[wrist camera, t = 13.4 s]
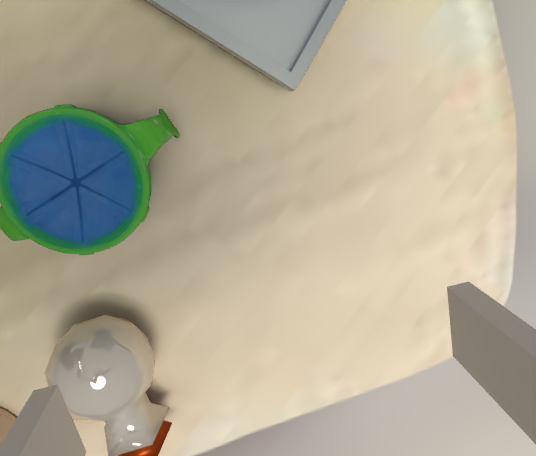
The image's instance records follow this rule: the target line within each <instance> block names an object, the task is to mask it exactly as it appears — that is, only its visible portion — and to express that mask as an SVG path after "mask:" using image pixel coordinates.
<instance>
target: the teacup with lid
mask: <svg viewBox="0 0 536 456" xmlns="http://www.w3.org/2000/svg"><path fill="white" fill-rule="evenodd" d="M15 420H16V418H15V417H14V416H13V415H12V414H11V413H9V412H7V411H6V410H4V409H1V408H0V445H1V443H2V442H3V440H4V438H5V437H6V435H7V434H8V432H9V430H10V429H11V427H12V425H13V424H14V422H15Z"/></svg>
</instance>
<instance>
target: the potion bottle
mask: <svg viewBox="0 0 536 456" xmlns="http://www.w3.org/2000/svg"><path fill="white" fill-rule="evenodd" d="M154 366H155V360H154V356H153V352H152V349H151V346H150V343H149V341H148V338H147V336H146V335H145V334H144V333H143V332H142V331H140V330H139V329H138V328H137V327H136V326H135V325H133V324H132V323H131V322H129V321H128V320H127V319H123V318H118V317H113V316H108V315H103V316H99V317H96V318H93V319H89V320H86V321H83V322H79V323H76V324H74V325H73V326H72V327H71V328H70V329H69V331H68V332H67V333H66V334H65V335H64V336H63V338H62V339H61V340H60V341H59V342H58V343H57V344H56V346H55V347H54V350H53V353H52V355H51V358H50V360H49V363H48V365H47V368H46V370H45V376H46V380H47V384H48V387H50V386H54V385H58V386H59V389H60V391H61V393H62V396H63V398H64V400H65V403H66V405H67V407H68V410H69V412H70V414H71V417H72V418H73V419H75V420H76V421H105V423H106V425H105V427H104V428H105V435H106V442H107V450H108V456H117V455H118V456H158V454H159V452H160V450H161V447H162V445H163V443H164V440H165V438H166V436H167V434H168V431H169V429H170V427H171V424H172V423H171V422H168V421H165V420H164V418H165V416H166V414H167V411H168V409H169V408H168V407H165V406H162V405H158V404H155V403H151V402H150V401H149V399H148V397H147V395H146V393H145V392H146V390H147V389H148V388H149V387H150V386H151V384H152V378H153V372H154Z"/></svg>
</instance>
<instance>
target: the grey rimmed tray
mask: <svg viewBox="0 0 536 456" xmlns="http://www.w3.org/2000/svg"><path fill="white" fill-rule="evenodd" d="M146 1H147V2H149V3H151V4H152V5H154V6H155V7H157V8H159V9H160V10H162V11H163V12H165V13H167V14H168V15H170V16H171V17H173V18H175V19H176V20H178V21H179V22H181V23H183V24H184V25H186V26H187V27H189V28H191V29H192V30H194V31H195V32H197V33H199V34H200V35H202V36H203V37H205V38H206V39H208V40H210V41H211V42H213V43H214V44H216V45H218V46H219V47H221V48H222V49H224V50H226V51H227V52H229V53H230V54H232V55H234V56H235V57H237V58H238V59H240V60H242V61H243V62H245V63H246V64H248V65H250V66H251V67H253V68H254V69H256V70H258V71H259V72H261V73H262V74H264V75H266V76H267V77H269V78H270V79H272V80H273V81H275V82H277V83H278V84H280V85H281V86H283V87H285V88H286V89H288V90H289V91H294V90H296V88H297V86H298V85H299V83H300V81H301V79H302V78H303V76H304V74H305V72H306V70H307V69H308V67H309V65H310V63H311V62H312V60H313V58H314V56H315V55H316V53H317V51H318V49H319V48H320V46H321V44H322V42H323V41H324V39H325V37H326V35H327V34H328V32H329V30H330V28H331V27H332V25H333V23H334V21H335V20H336V18H337V16H338V14H339V12H340V11H341V9H342V7H343V5H344V4H345V2H346V0H146Z"/></svg>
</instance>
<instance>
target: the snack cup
mask: <svg viewBox="0 0 536 456" xmlns="http://www.w3.org/2000/svg"><path fill="white" fill-rule="evenodd" d="M172 136H174V137H176V138H179V137H180V134H179V132H178V131H177V129H176V128H175V127H174V125H173V124H172V122H171V121H170V119H169V118H168V116H167V114H166V113H165V112H164V111H163V109H159V115H157V116H154V117H150V118H147V119H145V120H141V121H138V122H134V123H130V124H126V125H120V124H118V123H116V122H115V121H113V120H111V119H110V118H108V117H106V116H104V115H101V114H99V113H97V112H94V111H91V110H87V109H82V108H77V107H75V106H73V105H57V106H55V107H54V108H52V109H47V110H43V111H40V112H37V113H34V114H32V115H29V116H27V117H26V118H25V119H23V120H21V121H20V122H19V123H18V124H17V125H15V126H14V127H13V128H12V130H11V131H10V132H9V133H8V134H7V135H6V137H5V139H4V140H3V141H2V142H1V144H0V203H1V205H2V206H1V208H0V229H1V230H2V231H3V232H4V233H5V234H6V235H7V236H8V237H9V238H10V239H11V240H13V241H17V240H24V239H32V240H33V241H35V242H37V243H38V244H40V245H42V246H44V247H47V248H49V249H52V250H55V251H58V252H63V253H70V254H79V255H89V254H94V253H95V252H99V251H102V250H105V249H108V248H111V247H113V246H115V245H117V244H118V243H120V242H121V241H123V240H124V239H125V238H126V237H128V236H129V235H130V234H131V233H132V232H133V231H134V230H135V228H136V227H137V226H138V225H139V223H140V222H143V221H144V219H145V218H146V216H147V213H148V211H149V206H148V204H149V200H150V195H151V176H150V171H149V166H148V164H149V161H150V159H151V158H152V156H153V155H154V154H155V153H156V151H157V150H158V149H159V148H160V147H161V145H163V144H164V143H165V142H166V141H167V140H168V139H169V138H171V137H172Z"/></svg>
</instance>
